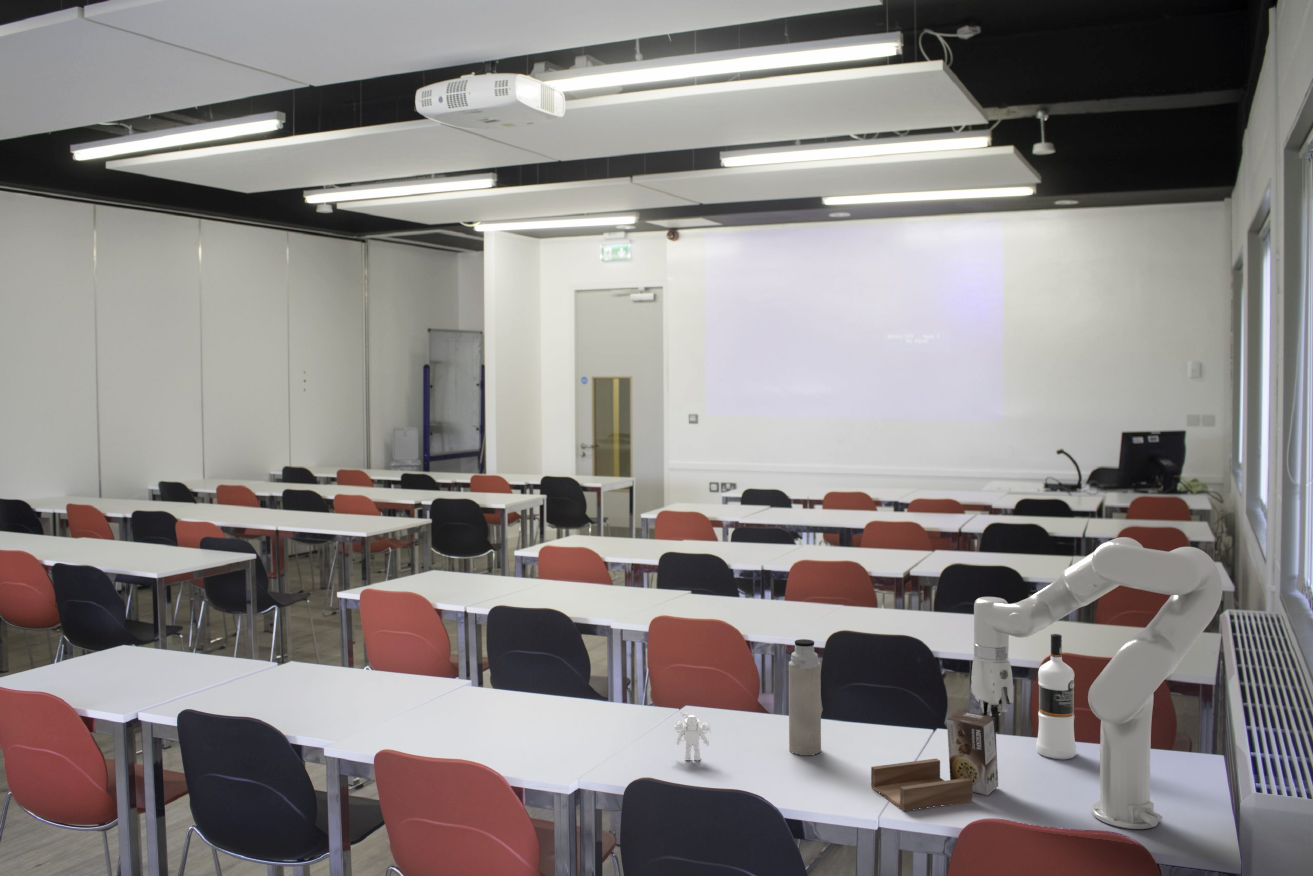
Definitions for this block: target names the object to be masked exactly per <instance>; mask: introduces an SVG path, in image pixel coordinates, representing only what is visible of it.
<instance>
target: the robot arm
mask: <svg viewBox="0 0 1313 876" xmlns="http://www.w3.org/2000/svg"><path fill="white" fill-rule="evenodd" d="M1119 586H1122V587H1126V588H1131V589H1136V590H1142V591H1146V592H1151V593H1157V594H1162V595H1166V596H1167V595H1168V596H1169V597H1168V599H1167V601H1166V602H1165V603H1164V604H1163V605H1162V606H1161V608H1160V609H1159V610H1158V612H1157V614H1156V615H1155V616H1154V618H1153V619H1151V621H1150V622H1149V623H1148V624H1147V626H1146V627H1145V628H1143V629H1142V631H1140V632H1138V633H1137V634H1135V635H1134V636H1132V637H1131V638H1129V639H1127V640H1126V642H1125V643H1123V644H1122V646H1121V647H1120V648H1119V649H1118V650H1117V652H1116V653H1115V654H1114V655H1113V657H1112V658H1111V659H1110V661H1109V662H1108V663H1107V664H1106V666H1105V667H1104V668H1103V670H1102V671H1101V672H1100V674H1099V675H1098V676H1097V677H1096V679H1095V680H1094V681H1093V682H1092V684H1091V685H1090V687H1089V689H1088V693H1087V694H1088V695H1087V699H1088V700H1087V701H1088V704H1089V708H1090V710H1091V711H1092V714H1094V716H1095V717H1096V718H1097V719H1099V720H1100V729H1099V730H1100V735H1099V738H1100V739H1099V741H1100V742H1099V744H1100V745H1099V752H1100V753H1099V754H1100V755H1099V759H1100V760H1099V767H1100V768H1099V801H1096V802H1095V803H1093V805H1092V808H1091V813H1092V815H1093V816H1094V818H1097V819H1098V820H1099V821H1100V822H1103V823H1104V824H1105V823H1106V824H1107V825H1110V826H1115V827H1119V828H1122V829H1131V830H1145V829H1146V830H1147V829H1151V828H1154V827H1157V825H1158V823H1159V822H1162V821H1163V815H1162V814H1160V813H1158V812H1156V811H1155V809H1154V807H1155V803H1154V802H1153V801H1151V747H1152V746H1151V745H1152V744H1151V743H1152V742H1151V741H1152V740H1151V738H1152V736H1151V735H1152V717H1153V711H1154V710H1153V707H1154V692H1155V691H1156V690H1157V689H1158V688H1159V687H1160V686H1161V685H1162V683H1163V682H1164V680H1165V679H1166V678H1168V677H1169V676H1170V675H1172V673H1173V672H1174V671H1175V670H1176V669H1177V668H1178V666H1179V665H1180V663H1181V661H1182V660H1183V658H1184V657H1185V656H1186V654H1187V653H1188V651H1190V649H1191V647H1192V646H1193V645H1194V644H1195V643H1196V642H1197V641H1198V639H1199V637H1200V636H1201V635H1202V633H1203V632H1204V631H1205V629H1206V628H1207V627H1208V626H1209V624H1210V623H1211V622H1212V620H1213V618H1214V617H1215V615H1216V613H1217V612H1218V610H1219V607H1220V604H1221V602H1222V595H1223V581H1222V576H1221V573H1220V570H1219V568H1218V566H1217V564H1216V563H1215V561H1214V559H1212V558H1211V556H1210V555H1209V554H1208V553H1206V552H1205V551H1204V550H1202V549H1200V548H1197V547H1194V546H1181V547H1180V546H1179V547H1178V548H1175V549H1172V550H1170V551H1165V550H1158V549H1153V548H1146V547H1143V545H1142V543H1140V542H1138V541H1137V540H1136V539H1134V538H1132V537H1127V536H1124V537H1123V536H1121V537H1117V538H1116V537H1115V538H1113V539H1111V540H1108V541H1105V542H1103V543H1101V544H1100V545H1098V546H1097V547H1096V549H1095V550H1094V551H1093V552H1091V553H1090V554H1087V556H1085V557H1083V558H1081V559H1080V560H1079V561H1077V562H1075V563H1073V564H1072V565H1070V566H1068V567H1067V568H1065V569H1064V570H1062V572H1061V573H1060V575H1059V577H1058V578H1057V579H1055V580H1054V581H1053V582H1052V583H1050V584H1048V585H1046V587H1044V588H1042V589H1041V590H1039V591H1037V592H1035V593H1033V595H1031V596H1029V597H1027V598H1025V599H1022V600H1020V601H1018V602H1013V603H1008V601H1007V600H1006V599H1005V598H1002V597H996V596H981V597H978V598H977V599H976V600H974V604H973V659H972V665H971V668H972V669H971V676H970V677H971V680H970V681H971V683H970V684H971V686H970V687H971V694H972V695H973V696H974V699H975V700H976V701H977V702H978V703H979V705H980V713H981V715H986V716H991V717H995V726H996V733H998V732H999V728H1000V725H999V724H1000V722H999V720H1000V719H999V717H1000V716H1001V713H1007V712H1008V705H1012V704H1013V703H1014V683H1013V682H1014V681H1013V671H1012V666H1011V662H1010V660H1009V653H1010V652H1009V650H1010V649H1009V638H1010V637H1009V636H1012V637H1015V638H1028V637H1030V636H1033V635H1034V634H1036V633H1038V632H1039V631H1042V630H1044V629H1046V628H1048V627H1049V626H1051V625H1053V624H1054V623H1056V622H1058V621H1060V620H1061V619H1063V618H1064V617H1066V616H1068V615H1069V614H1071V613H1073V612H1074V611H1076V610H1078V609H1080V608H1082V607H1086V606H1088V605H1090V604H1091V603H1093V602H1095V601H1096V600H1098V599H1099V598H1101V597H1103V596H1104V595H1106V594H1108V593H1109V592H1112V591H1113V590H1115V589H1116V588H1118V587H1119Z"/></svg>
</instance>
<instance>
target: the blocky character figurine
mask: <svg viewBox="0 0 1313 876" xmlns="http://www.w3.org/2000/svg"><path fill="white" fill-rule="evenodd" d="M680 716H681V717H684V722H685V724H684V722H682V721H680V720H678V721H677V722H675V724H676V725H674V726H673V727H674V728H675V729H674V731H675V732H676V733H677V734H678V736H677V739H676V744H677V745H680V744H681V742H684V741H685V754H684V760H685V759H687V760H690V759H691V760H692V748H693V751H694V752H693V761H694V760H700V759H702V758H701V753H700V752H701V751H700V742H699V741H700V739H701V740H702V741H703V743H704V744H706V747H708V746H709V745H710V741H709V740H708V738H707V736H706V734H708V732H709V733H711V731H712V730H711V727H710V724H709V723H708V722H707V721H704V722H703V723H702V724H701V725H700V719H698V717H697V716H696V715H694V714H690V715H689V713H688V712H686V713H685V712H682V711H681V712H680ZM691 760H690V761H691ZM700 761H701V760H700Z"/></svg>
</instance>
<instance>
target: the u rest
mask: <svg viewBox="0 0 1313 876" xmlns="http://www.w3.org/2000/svg"><path fill="white" fill-rule="evenodd" d="M870 769H871V771H870V775H871V776H870V777H871V778H870V779H871V781H870V782H871V783H870V785H871V786H870V787H873V788H874V789H875V790H877V791H878V792H880V793H881V794H882V795H884V796H885V797H886V798H887V799H888V800H887V799H886V798H885V797H884V798H885V799H886V800H887V801H888V802H890V803H891V804H893V805H894V804H895V805H894V806H896V807H897V808H898V807H899V810H901V809H902V810H903V811H902V810H901V811H902V812H904V811H905V812H908V811H907V810H912V811H914V810H913V809H919V808H926V809H928V808H927V807H933V806H939V807H942V806H941V805H946V806H951V805H950V804H953V805H959V803H960V804H966V803H972V802H973V792H972V780H971V779H970V778H962V779H955V780H950V779H949V780H948V779H947V780H944V779H943V778H941V760H939V759H938V758H930V759H929V758H928V759H922V760H914V761H906V762H900V763H891V764H883V765H875V766H871V768H870ZM874 789H873V790H874ZM875 790H874V791H875ZM877 791H876V792H877ZM878 792H877V793H878ZM881 794H880V795H881ZM882 795H881V796H882ZM933 808H934V807H933ZM919 810H920V809H919Z"/></svg>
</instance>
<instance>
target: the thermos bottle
mask: <svg viewBox="0 0 1313 876" xmlns="http://www.w3.org/2000/svg"><path fill="white" fill-rule="evenodd" d="M794 645H795V646H794V651H793V652H791V655H790V656H791V657H790V661H788V749H789V752H790V751H791V752H790V753H792V752H793V753H795V754H794V755H797V754H800V755H799V756H802V755H812V756H814V755H813V754H817V753H819V752H820V751H821V752H822V711H821V710H822V697H821V694H822V693H821V690H822V689H821V688H822V687H821V686H822V685H821V683H822V680H821V677H822V675H821V674H822V673H821V670H822V669H821V667H822V666H821V665H822V664H821V662H820V661H819V660H818V659H819V655H818V654H819V653H817V652H815V646H814V645H815V641H814V640H812V639H807V638H806V639H805V638H801V639H796V640H794ZM821 752H820V753H821ZM793 753H792V754H793ZM820 753H819V754H820ZM817 755H818V754H817Z"/></svg>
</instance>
